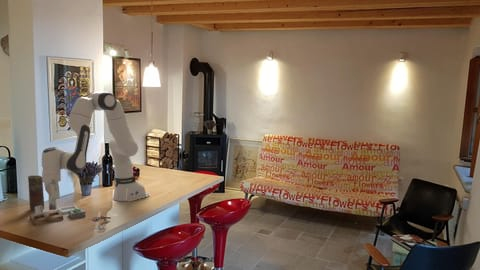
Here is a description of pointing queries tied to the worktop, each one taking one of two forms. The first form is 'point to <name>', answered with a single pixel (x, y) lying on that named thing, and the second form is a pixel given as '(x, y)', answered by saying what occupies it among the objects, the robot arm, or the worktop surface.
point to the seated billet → (38, 212)
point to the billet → (51, 207)
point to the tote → (66, 209)
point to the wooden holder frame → (47, 217)
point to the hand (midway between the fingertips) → (52, 203)
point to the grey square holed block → (76, 213)
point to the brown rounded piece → (35, 192)
